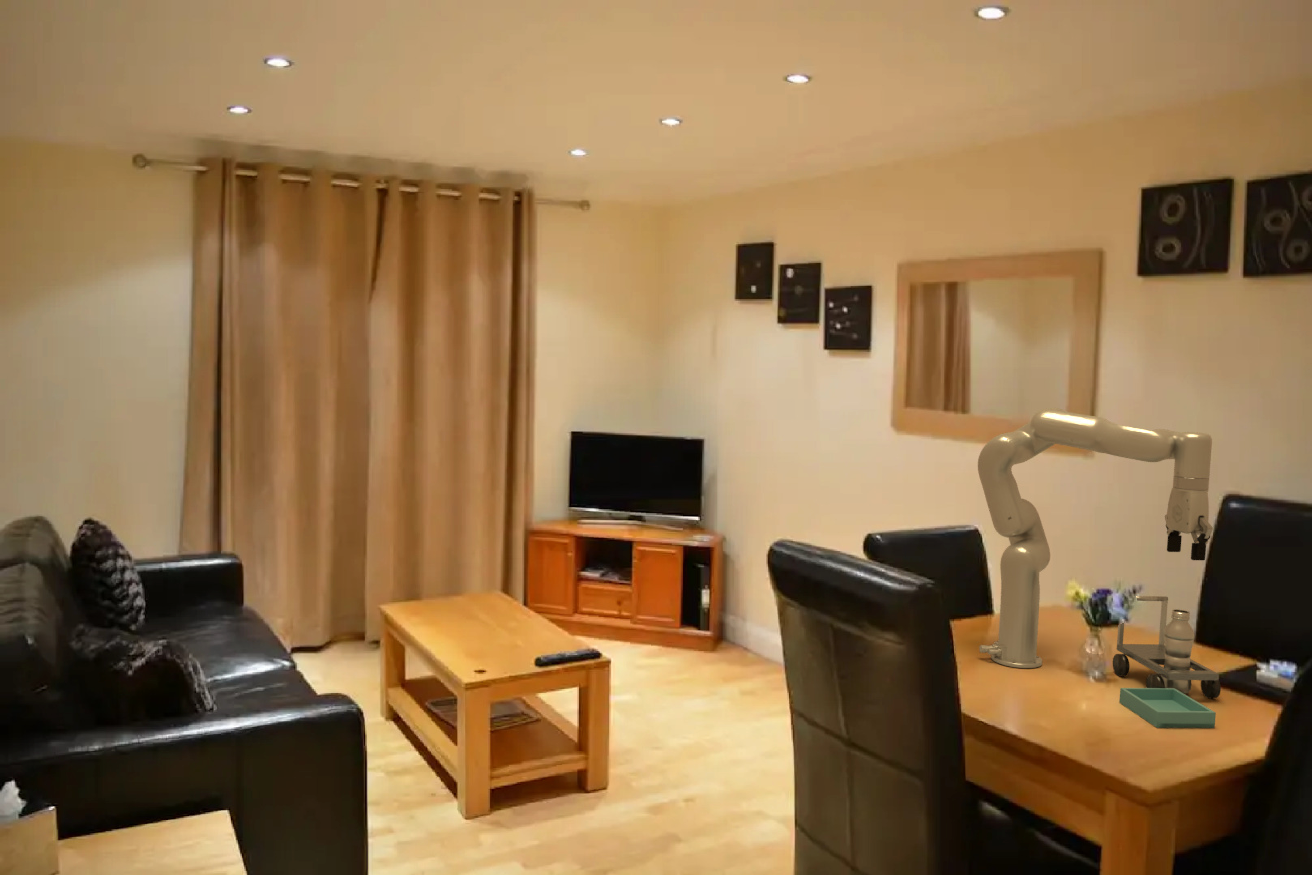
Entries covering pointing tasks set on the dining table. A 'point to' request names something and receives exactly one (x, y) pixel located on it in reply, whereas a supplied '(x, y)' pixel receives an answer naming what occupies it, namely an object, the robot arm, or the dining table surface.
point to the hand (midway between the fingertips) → (1185, 555)
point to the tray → (1167, 708)
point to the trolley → (1161, 659)
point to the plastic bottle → (1178, 648)
